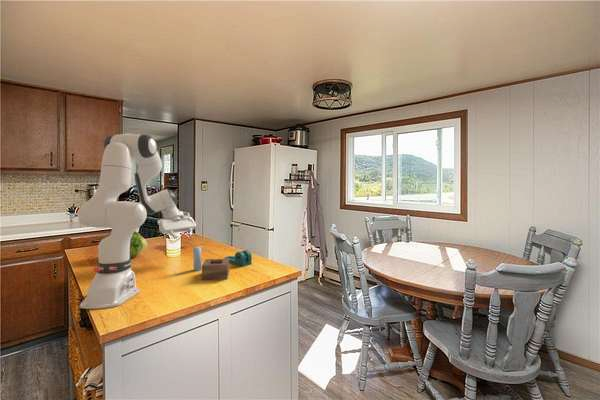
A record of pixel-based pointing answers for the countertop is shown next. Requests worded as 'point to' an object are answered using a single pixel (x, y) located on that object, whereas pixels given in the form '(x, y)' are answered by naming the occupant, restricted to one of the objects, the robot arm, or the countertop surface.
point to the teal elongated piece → (241, 258)
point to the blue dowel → (197, 258)
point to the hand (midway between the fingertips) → (183, 236)
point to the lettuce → (136, 244)
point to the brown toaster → (215, 269)
